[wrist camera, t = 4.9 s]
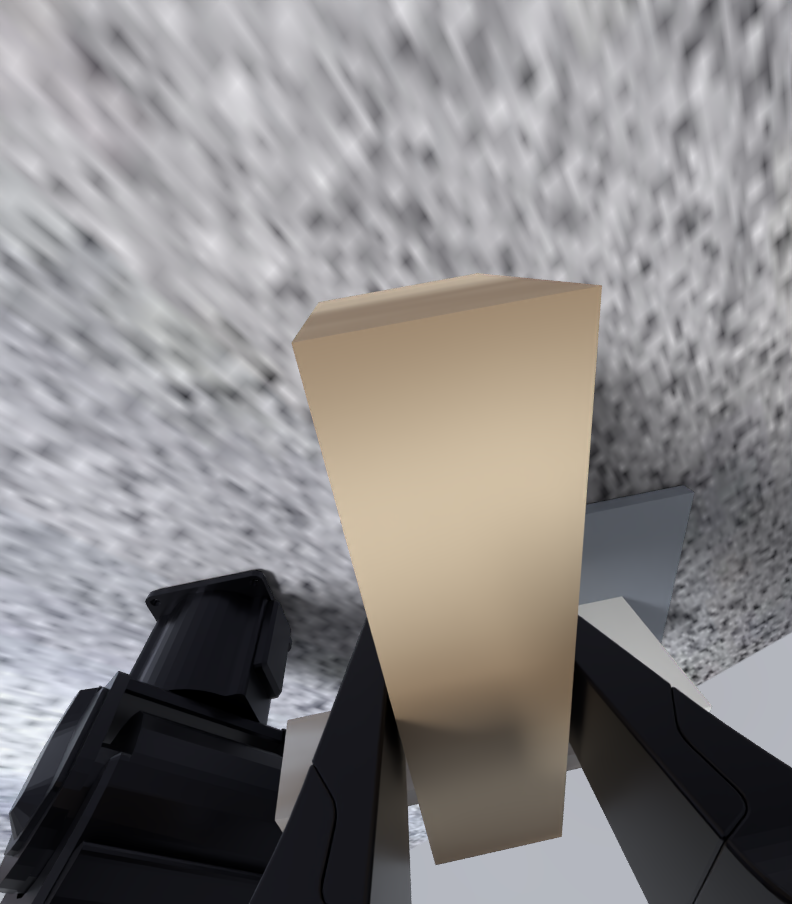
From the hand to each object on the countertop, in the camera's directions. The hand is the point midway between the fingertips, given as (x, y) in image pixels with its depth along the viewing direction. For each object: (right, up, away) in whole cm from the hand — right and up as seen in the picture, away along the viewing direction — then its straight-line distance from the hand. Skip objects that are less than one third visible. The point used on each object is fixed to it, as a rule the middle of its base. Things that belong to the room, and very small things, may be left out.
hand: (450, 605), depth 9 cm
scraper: (0, +1, +1) cm, 2 cm away
